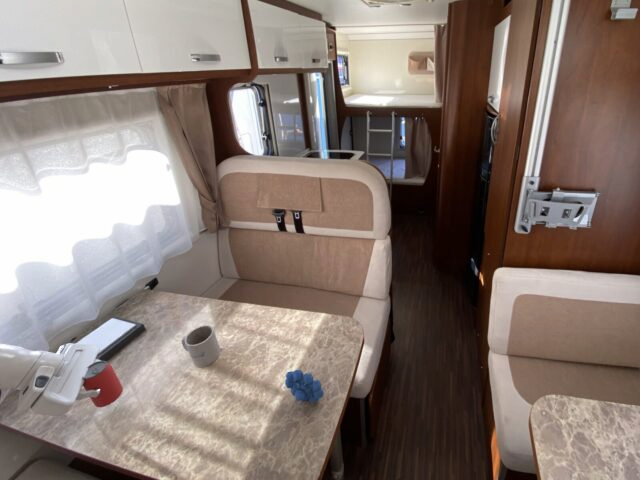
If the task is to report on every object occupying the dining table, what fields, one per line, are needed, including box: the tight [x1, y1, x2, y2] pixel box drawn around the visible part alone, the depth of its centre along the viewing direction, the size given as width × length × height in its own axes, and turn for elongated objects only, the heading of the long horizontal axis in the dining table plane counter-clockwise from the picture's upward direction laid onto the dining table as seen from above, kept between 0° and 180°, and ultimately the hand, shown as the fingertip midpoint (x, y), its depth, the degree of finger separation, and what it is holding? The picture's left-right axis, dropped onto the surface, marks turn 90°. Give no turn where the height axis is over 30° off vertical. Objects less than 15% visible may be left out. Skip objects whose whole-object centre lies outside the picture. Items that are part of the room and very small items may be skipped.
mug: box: [181, 324, 222, 368], centre depth 105 cm, size 12×9×10 cm
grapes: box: [284, 369, 325, 403], centre depth 88 cm, size 12×7×12 cm, turn 79°
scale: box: [74, 315, 146, 362], centre depth 113 cm, size 16×16×4 cm
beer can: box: [82, 361, 124, 408], centre depth 88 cm, size 7×7×12 cm
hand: (104, 381), depth 88 cm, fingers closed on beer can, 6 cm apart
